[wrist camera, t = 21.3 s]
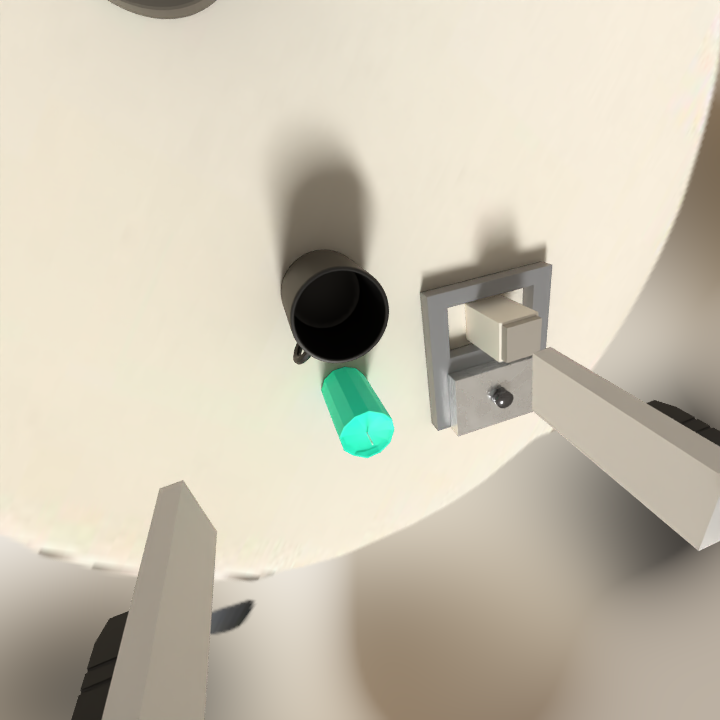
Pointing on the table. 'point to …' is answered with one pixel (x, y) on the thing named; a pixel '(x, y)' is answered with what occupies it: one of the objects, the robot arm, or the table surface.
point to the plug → (503, 328)
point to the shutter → (489, 394)
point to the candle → (357, 412)
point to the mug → (333, 307)
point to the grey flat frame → (449, 361)
